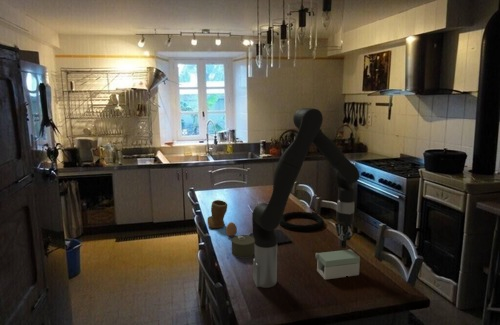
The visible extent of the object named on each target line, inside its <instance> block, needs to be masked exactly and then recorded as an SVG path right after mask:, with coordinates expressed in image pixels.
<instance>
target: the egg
mask: <svg viewBox="0 0 500 325" xmlns="http://www.w3.org/2000/svg"><path fill="white" fill-rule="evenodd" d="M237 228H238V227H237V225H236V223H234V222H232V221H231V222H229V223H228V224H227V225H226V228H225V232H226V234H227V236H229V237H235V236H236V234H237V232H238V229H237Z"/></svg>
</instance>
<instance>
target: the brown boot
mask: <svg viewBox="0 0 500 325" xmlns="http://www.w3.org/2000/svg"><path fill="white" fill-rule="evenodd" d="M210 207H211V209H210V212H211V215H210V216H208V217H207V218H206V219H207V226H208V227H209V228H211V229H219V228H223V227H224V226H225V220H224V218H225V215H226V213H227V211H228V210H227V209H228V203H227V202H226V201H224V200H220V199H215V200H214V201H212V202H211V206H210Z"/></svg>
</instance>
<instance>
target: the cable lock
mask: <svg viewBox="0 0 500 325" xmlns="http://www.w3.org/2000/svg"><path fill="white" fill-rule="evenodd" d="M292 218H306V219H310V220H313V221H315V222H316V223H313V224H305V225H303V224H294V223H290V222H288V221H286V220H288V219H292ZM324 224H325V221H324V219H323V217H321V216H320V215H319V214H318V212H317V211H312V212H310V211H309V212H306V211H292V212H287V213H286V212H285V213H283V216H282V219H281V222H280V224H279V226H281V227H283V228H285V229H287V230H291V231H295V232H296V231H297V232H312V231H316V230H320V229H321V228H322V227H324Z"/></svg>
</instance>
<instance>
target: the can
mask: <svg viewBox="0 0 500 325" xmlns="http://www.w3.org/2000/svg"><path fill="white" fill-rule="evenodd" d="M230 241H231V255H232V256H234V257H236V258H240V257H241V258H242V259H244V258H245V259H246V258H252V256H253V257H254V256H255V240H254V236H253V235H247V234H239V235H234V236H232V238H231V240H230ZM241 258H240V259H241Z"/></svg>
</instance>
